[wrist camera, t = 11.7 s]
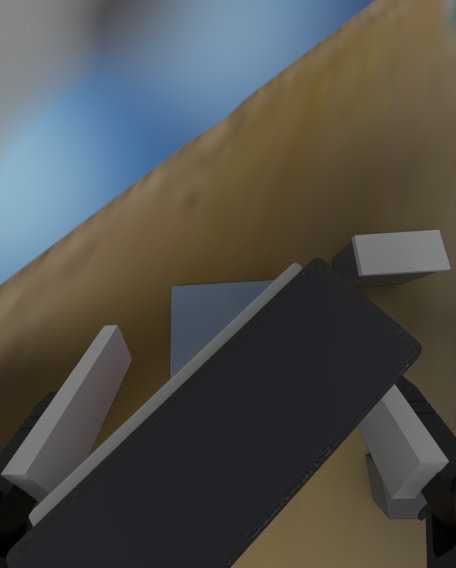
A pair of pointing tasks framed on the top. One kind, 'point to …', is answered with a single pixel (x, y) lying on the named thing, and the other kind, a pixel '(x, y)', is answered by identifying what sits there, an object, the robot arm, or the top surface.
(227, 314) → the rubber mat
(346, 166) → the top surface
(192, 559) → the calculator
